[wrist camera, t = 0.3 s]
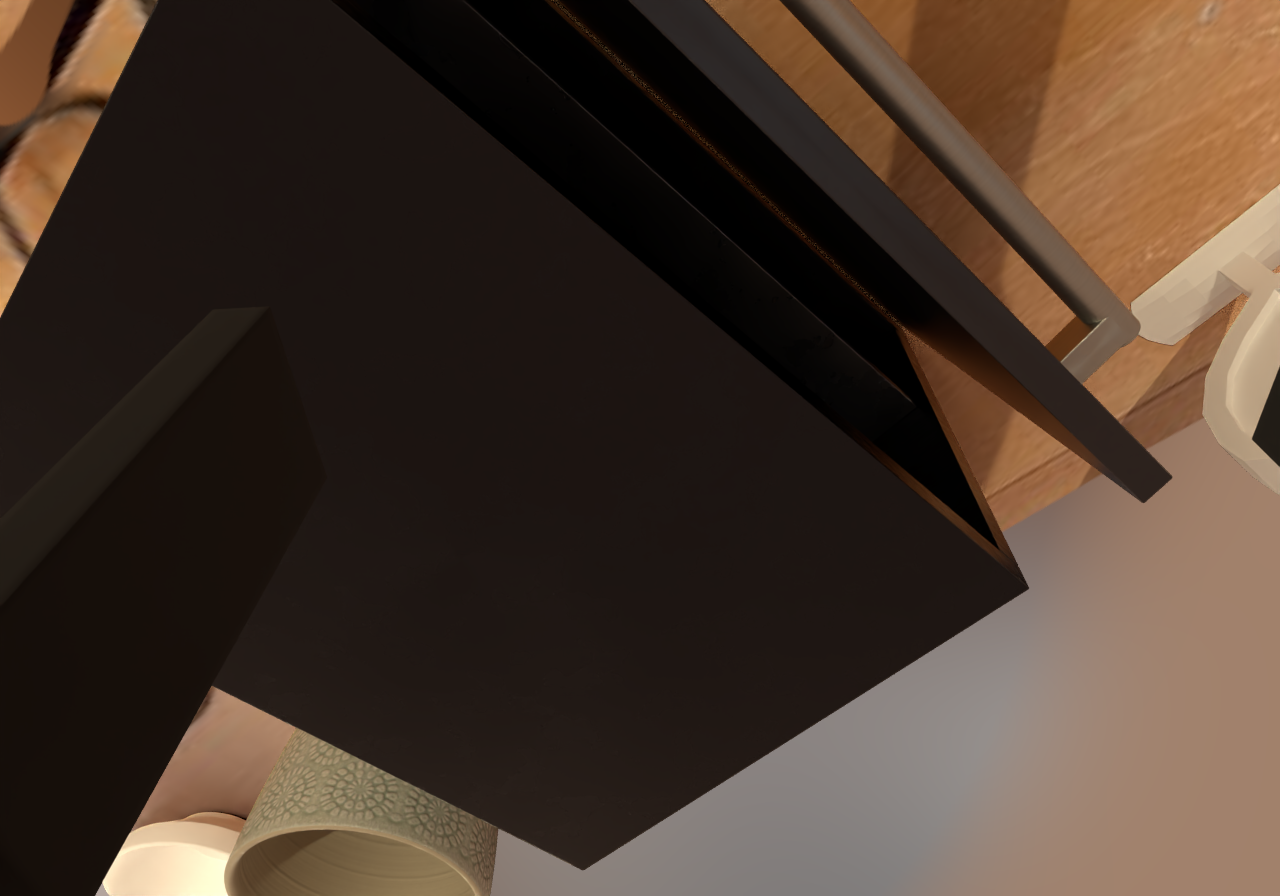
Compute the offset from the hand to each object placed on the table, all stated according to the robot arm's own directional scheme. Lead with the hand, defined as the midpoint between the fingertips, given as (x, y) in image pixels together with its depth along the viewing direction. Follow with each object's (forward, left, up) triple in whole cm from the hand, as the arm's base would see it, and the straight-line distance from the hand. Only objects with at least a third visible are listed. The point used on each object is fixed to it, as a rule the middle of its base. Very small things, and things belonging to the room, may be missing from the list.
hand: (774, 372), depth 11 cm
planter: (+64, +23, -45) cm, 82 cm away
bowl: (+97, +19, -45) cm, 109 cm away
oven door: (+3, +6, -46) cm, 46 cm away
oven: (+22, +6, -45) cm, 51 cm away
